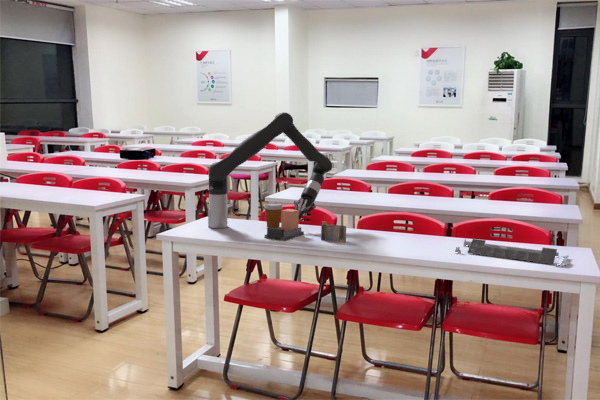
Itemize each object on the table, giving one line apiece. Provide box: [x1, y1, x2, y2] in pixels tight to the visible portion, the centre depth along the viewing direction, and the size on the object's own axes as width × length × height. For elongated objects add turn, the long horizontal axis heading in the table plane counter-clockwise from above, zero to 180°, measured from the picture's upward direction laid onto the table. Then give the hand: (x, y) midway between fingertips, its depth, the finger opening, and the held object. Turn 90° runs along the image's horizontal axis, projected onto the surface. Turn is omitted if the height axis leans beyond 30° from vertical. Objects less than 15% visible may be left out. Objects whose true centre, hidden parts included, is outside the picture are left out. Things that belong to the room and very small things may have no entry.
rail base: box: [264, 226, 305, 242], centre depth 277 cm, size 17×11×5 cm, turn 147°
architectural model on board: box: [320, 220, 347, 243], centre depth 269 cm, size 11×3×10 cm, turn 68°
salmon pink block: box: [280, 208, 300, 231], centre depth 281 cm, size 6×6×10 cm
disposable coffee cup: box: [263, 202, 283, 228], centre depth 299 cm, size 10×10×12 cm
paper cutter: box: [454, 238, 570, 267], centre depth 244 cm, size 18×45×6 cm, turn 59°
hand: (297, 218), depth 287 cm, fingers closed
